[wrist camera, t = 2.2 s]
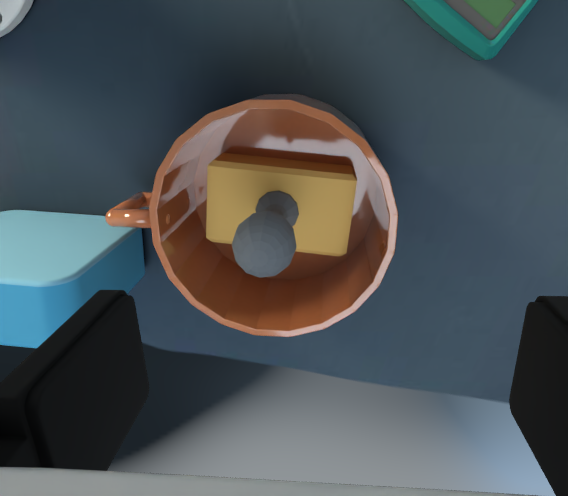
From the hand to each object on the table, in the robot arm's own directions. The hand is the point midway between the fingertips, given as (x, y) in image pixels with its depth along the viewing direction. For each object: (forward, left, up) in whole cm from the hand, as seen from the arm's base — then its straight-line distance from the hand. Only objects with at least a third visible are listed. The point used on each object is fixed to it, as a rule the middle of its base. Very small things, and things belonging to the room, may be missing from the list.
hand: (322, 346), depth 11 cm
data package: (-20, -6, -24) cm, 32 cm away
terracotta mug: (-5, -2, -23) cm, 24 cm away
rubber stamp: (-3, -2, -23) cm, 24 cm away
